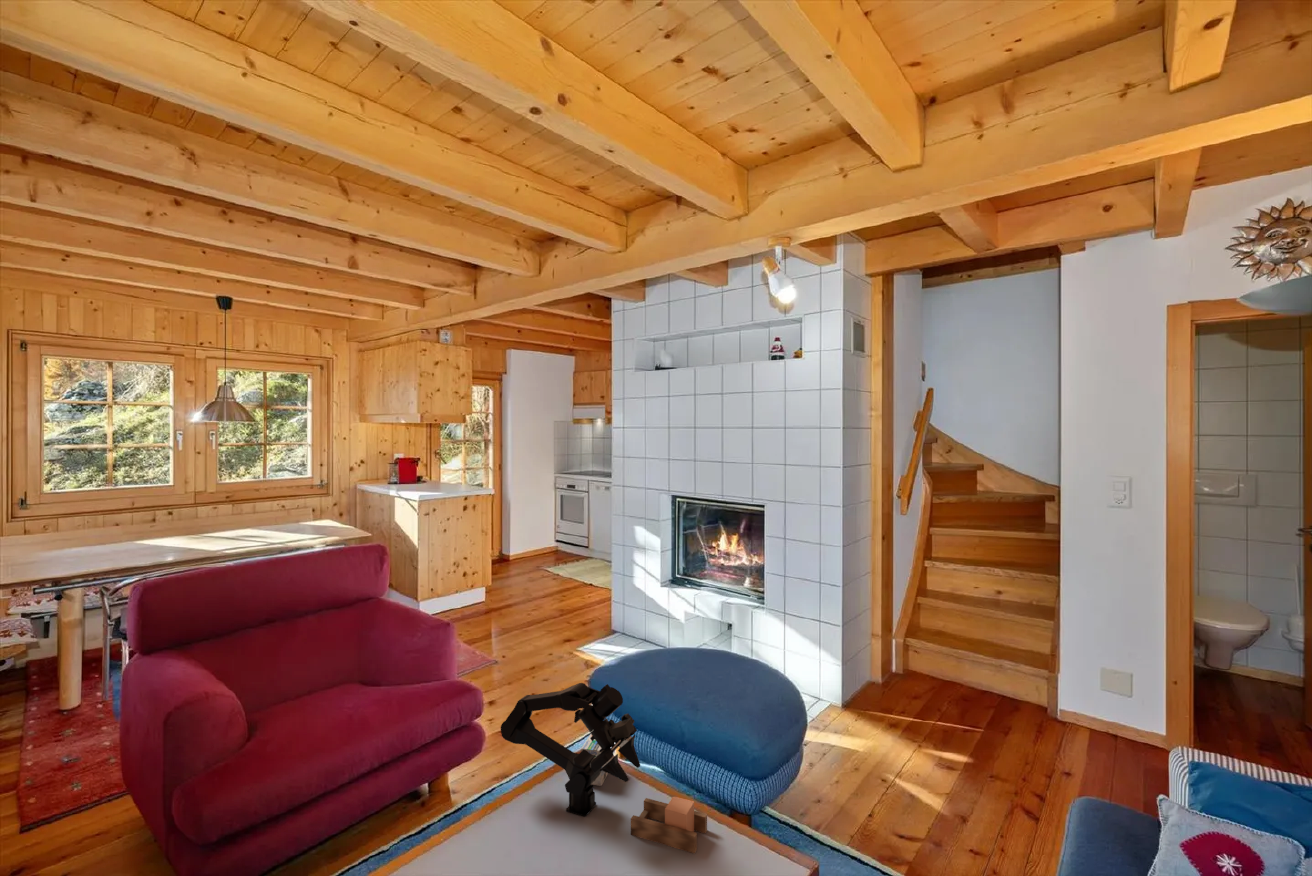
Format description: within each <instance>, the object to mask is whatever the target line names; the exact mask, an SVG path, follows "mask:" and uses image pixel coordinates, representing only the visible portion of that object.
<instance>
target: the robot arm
mask: <svg viewBox="0 0 1312 876" xmlns="http://www.w3.org/2000/svg"><path fill="white" fill-rule="evenodd" d="M623 703H624V698H623V696H622V694H621V692H620V691H619V690H618V689H617V688H615V687H611V686H610V685H609V684H605V686H603V687H602V688H600V690H597V689H595V688H592V687H589V686H588V685H586V683H585V682H579V683H576V684H574V685H571V686H568V687H567V688H565V689H563V690H559V691H552V692H551V691H550V692H543V693H536V694H526V695H524V696H523V697H522V698H520V699H519V700H517V702H516V703H515V706H514V708H513V709H512V711H511V712H510V713H509V714H508V716H507V717H506V719H505V720H504V721H503V722H502V723H501V725H500V733H501V737H502V738H503V739H504V740H505V741H507V742H510V743H512V744H514V745H525V746H527V747H529V748H530V749H532V750H533V751H535V752H537V754H540V755H541V756H542V757H544V758H545V759H548V760H549V761H551V762H552V763H554V764H556V765H557V766H558V767H560V768H562V769H563V770H564V771H565V773H566V775H567V777H568V779H569V780H568V781H567V782H566V783H564V784H565V785H564V787H565V791H566V793H568V806H567V807H566V808H565V811H566V812H567V813H571V814H575V815H578V816H582V817H587V815H588V814H589V813H590V812H591V811H592V810H593V809H594V807H595V806H596V805H597V802H596V795H595V791H594V785H591V784H592V783H593V782H594V781H595V780H596V778H597V777H598V776H599V775H600V773H601V771H604V772H606V773H608V774H609V775H611V776H613V777H616V778H617V779H619V780H621V781H623V782H625V783H626V782H628V781H629V780H630V779H629V777H628V775H627V773H626V771H625V770H624V768H623V767H622V766H621V765H622V764H620V763H619V754H618V753H620V754H621V755H622V756H623V757H624V758H625V759H626V760H627V761H628V762H630V763H631V764H632V765H633V766H634V767H636V768H637V769H639V768H640V767H641V763H640V760H639V757H638V753H637V751H636V749H635V745H634V744H635V738H636V735H635V733H636V732H637V731H638V729H637V728H636V726H635V725H634V723H635V720H634V719H633V717H632V716H631V714H630V713H625V714H623V715H622V716H621V720H619V721H617V722H615V721H614V719H609V720H608V717H610V715H612V714H613V713H614V712H615V711H616V710H617V709H619V708H620V707H621V706H622V705H623ZM552 709H562V710H563V711H570V712H574V717H573V718H574V721H573V722H574V724H576V723H578V721H581V722H582V723H583V724H584V726H585V727H586V728H587V730H588V732H589V733H590V734H592V737H591V738H590V739H591V740H592V741H593V740H594V739H595V740H596V741H597V743H598V744H599V746H600V747H601V749H600V750H599V751H600V753H599V754H598V755H597V756H596V757H595V755H592V754H590V753H589V752H588V751H586V750H584V749H583V750H582V751H580V752H579V753H578V752H574V751H572V750H571V749H569V748H568V747H566V746H564V745H562V744H561V743H559V742H557V741H556V740H554V739H553V738H551V737H550V736H548V735H546V734H545V733H544V732H542V731H540V730H539V729H537V728H536V727H535V723H534V722H533V720H532V719H531V716H532V715H533V712H535V711H545V710H552ZM618 748H619V749H618ZM617 749H618V750H617ZM616 750H617V751H618V753H617V754H615V755H614V752H615V751H616ZM601 767H602V768H601Z"/></svg>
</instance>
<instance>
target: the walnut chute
mask: <svg viewBox="0 0 1312 876" xmlns="http://www.w3.org/2000/svg"><path fill="white" fill-rule="evenodd" d="M668 804H669V803H666V802H663V801H660V800H656V799H651V798H647V797H645V798H644V800H643V810H642V812H641V813H640V814H639V816H637V815H635V814H634V815H632V816H631V818H630V836H634V837H637V838H641V839H644V840H647V841H651V842H655V843H657V844H660V845H664V846H668V847H672V848H675V849H679V850H680V851H681V850H682V851H685V852H688V853H691V854H694V855H695V854H696V852H697V849H698V833H702V834H706V833H707V831H708V814H707V813H705V812H700V811H696V810H694V832H692V831H688V830H685V829H681V828H677V827H674V826H670V825H667V824H665V808H666V807H667V805H668Z"/></svg>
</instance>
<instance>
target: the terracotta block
mask: <svg viewBox="0 0 1312 876" xmlns="http://www.w3.org/2000/svg"><path fill="white" fill-rule="evenodd" d="M667 804H668V805H667V807H666V808H665V822H664V824H667V825H670V826H674V827H677V828H681V829H685V830H688V831H692V832H695V831H694V811H695V801H693V800H689V799H686V798H681V797H678V796H672V797H671V799H670V800H669V802H668V803H667Z"/></svg>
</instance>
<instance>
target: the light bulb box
mask: <svg viewBox="0 0 1312 876" xmlns="http://www.w3.org/2000/svg"><path fill="white" fill-rule="evenodd" d="M591 737H592V734H591V733H590V734H589V736H588V737H587V739H586V741H585V742H584V744H583V745H582V747H581V748H580V750H581V751H582V750H583V749H584V750H586V751H588V752H589V753H590V754H592V755H595V757H596V756H597V755H598V754H599V753H600V751H599V750H600V749H601V747H600V746H599V744H598V743H597V741H596V740H595V739H594V740H593V741H592V740H591V739H590V738H591ZM581 751H580V752H581ZM601 768H602V767H601ZM608 774H609V773H606V772H604V771H601V773H600V775H599V776H598V777H597V778H596V780H595V781H594V782H593V783H592V784H591V785H593V786H598V787H602V786H603V784H604V782H605V780H606V778H607V776H608Z"/></svg>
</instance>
